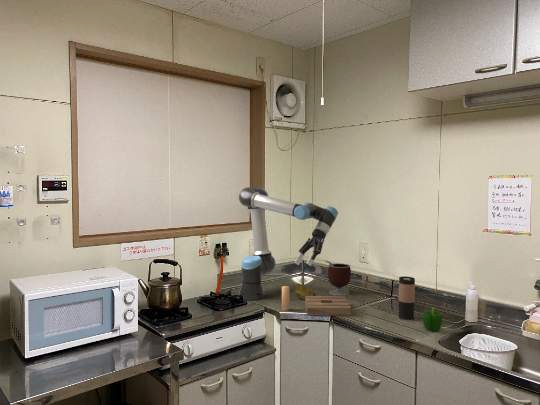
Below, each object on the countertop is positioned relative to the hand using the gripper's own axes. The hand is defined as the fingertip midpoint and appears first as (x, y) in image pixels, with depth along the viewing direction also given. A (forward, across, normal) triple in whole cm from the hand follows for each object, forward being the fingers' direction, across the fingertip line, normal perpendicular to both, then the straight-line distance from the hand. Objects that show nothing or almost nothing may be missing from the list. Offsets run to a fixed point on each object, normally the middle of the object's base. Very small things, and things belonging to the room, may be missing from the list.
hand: (302, 264), depth 225 cm
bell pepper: (+3, -52, -48) cm, 71 cm away
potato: (+12, +16, -20) cm, 28 cm away
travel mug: (0, -34, -48) cm, 59 cm away
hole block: (+13, -6, -22) cm, 27 cm away
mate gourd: (-4, +20, -40) cm, 45 cm away
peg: (+25, +2, -5) cm, 25 cm away
